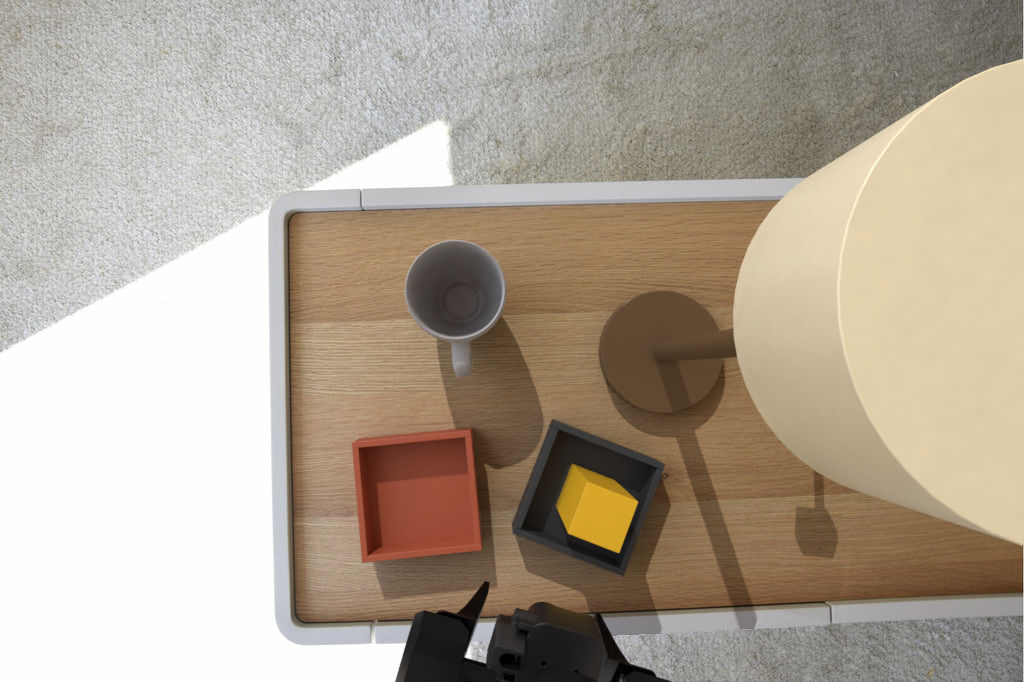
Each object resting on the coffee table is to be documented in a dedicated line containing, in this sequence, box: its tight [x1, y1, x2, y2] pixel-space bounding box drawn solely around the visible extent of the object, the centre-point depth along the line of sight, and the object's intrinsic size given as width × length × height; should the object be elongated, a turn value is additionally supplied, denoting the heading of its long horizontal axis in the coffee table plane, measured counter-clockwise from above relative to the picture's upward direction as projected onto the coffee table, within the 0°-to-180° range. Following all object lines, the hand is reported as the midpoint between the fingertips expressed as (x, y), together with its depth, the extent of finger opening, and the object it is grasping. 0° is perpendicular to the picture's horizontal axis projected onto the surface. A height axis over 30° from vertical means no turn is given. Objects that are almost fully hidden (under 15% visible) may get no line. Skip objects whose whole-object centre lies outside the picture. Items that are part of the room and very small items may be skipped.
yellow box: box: [556, 463, 638, 553], centre depth 59 cm, size 4×4×11 cm
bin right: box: [511, 418, 666, 577], centre depth 63 cm, size 11×11×4 cm
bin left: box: [351, 426, 484, 564], centre depth 63 cm, size 11×11×4 cm
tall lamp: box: [598, 58, 1024, 547], centre depth 42 cm, size 14×14×48 cm
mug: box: [404, 239, 508, 379], centre depth 61 cm, size 12×9×10 cm
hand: (541, 601), depth 53 cm, fingers open, 9 cm apart
